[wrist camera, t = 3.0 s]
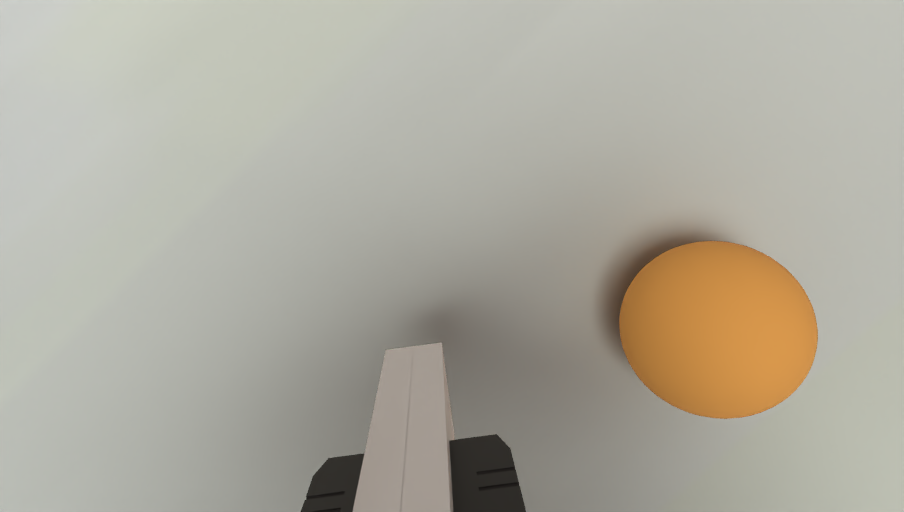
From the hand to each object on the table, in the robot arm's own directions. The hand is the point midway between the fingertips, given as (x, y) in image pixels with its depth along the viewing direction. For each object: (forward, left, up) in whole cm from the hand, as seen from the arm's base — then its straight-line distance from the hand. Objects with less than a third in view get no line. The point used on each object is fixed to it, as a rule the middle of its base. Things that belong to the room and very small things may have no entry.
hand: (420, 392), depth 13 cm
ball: (0, -9, -2) cm, 9 cm away
